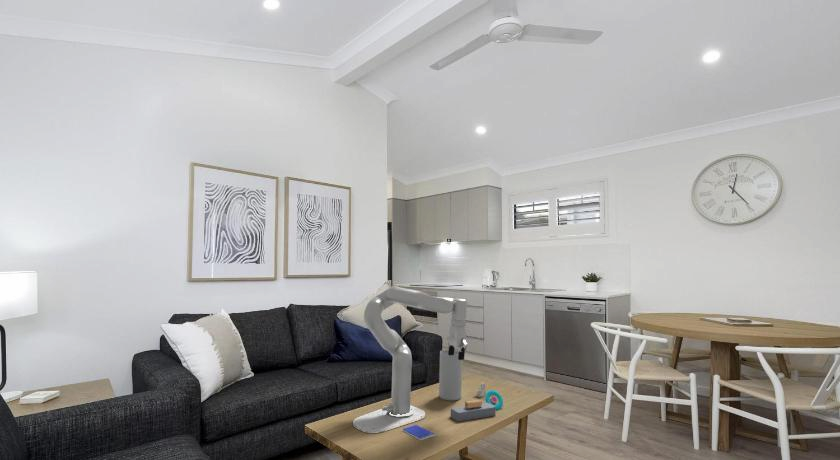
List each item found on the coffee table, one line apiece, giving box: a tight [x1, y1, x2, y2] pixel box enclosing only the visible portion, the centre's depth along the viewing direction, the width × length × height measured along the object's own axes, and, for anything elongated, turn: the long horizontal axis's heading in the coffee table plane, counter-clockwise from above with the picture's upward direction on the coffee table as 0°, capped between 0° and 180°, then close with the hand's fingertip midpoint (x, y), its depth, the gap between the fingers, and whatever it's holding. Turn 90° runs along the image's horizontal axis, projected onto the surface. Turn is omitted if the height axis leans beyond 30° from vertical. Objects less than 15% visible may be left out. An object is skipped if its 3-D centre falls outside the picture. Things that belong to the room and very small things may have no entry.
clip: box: [464, 399, 483, 410], centre depth 209 cm, size 8×3×6 cm, turn 118°
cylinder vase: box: [438, 349, 463, 401], centre depth 237 cm, size 12×12×25 cm
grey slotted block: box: [450, 402, 497, 423], centre depth 209 cm, size 22×7×4 cm, turn 117°
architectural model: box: [475, 382, 486, 398], centre depth 242 cm, size 3×7×7 cm, turn 147°
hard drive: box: [402, 424, 436, 441], centre depth 186 cm, size 2×8×12 cm
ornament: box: [484, 390, 504, 411], centre depth 223 cm, size 11×4×10 cm
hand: (456, 357), depth 213 cm, fingers open, 9 cm apart
